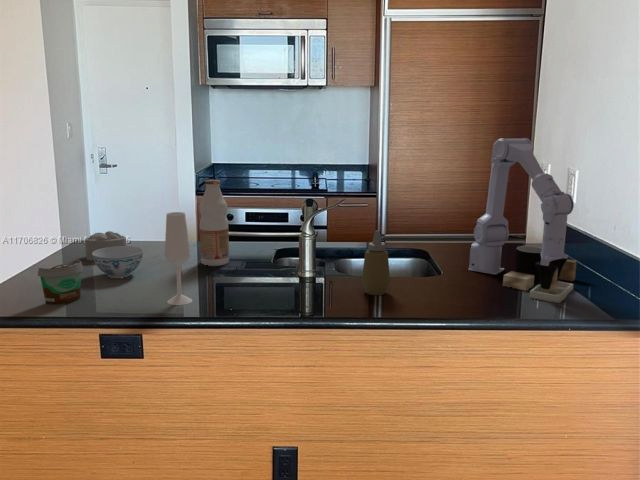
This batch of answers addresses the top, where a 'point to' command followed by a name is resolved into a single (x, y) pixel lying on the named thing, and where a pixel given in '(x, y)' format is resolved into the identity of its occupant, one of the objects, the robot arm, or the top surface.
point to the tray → (537, 294)
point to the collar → (565, 286)
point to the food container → (62, 283)
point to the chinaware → (118, 260)
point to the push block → (518, 280)
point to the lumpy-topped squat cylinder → (103, 242)
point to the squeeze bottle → (376, 268)
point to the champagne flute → (177, 250)
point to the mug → (528, 260)
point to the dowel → (552, 285)
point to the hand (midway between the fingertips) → (549, 285)
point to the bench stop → (568, 270)
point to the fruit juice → (213, 226)
